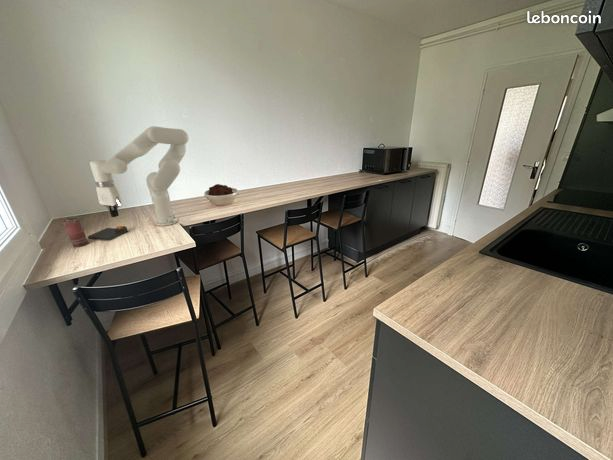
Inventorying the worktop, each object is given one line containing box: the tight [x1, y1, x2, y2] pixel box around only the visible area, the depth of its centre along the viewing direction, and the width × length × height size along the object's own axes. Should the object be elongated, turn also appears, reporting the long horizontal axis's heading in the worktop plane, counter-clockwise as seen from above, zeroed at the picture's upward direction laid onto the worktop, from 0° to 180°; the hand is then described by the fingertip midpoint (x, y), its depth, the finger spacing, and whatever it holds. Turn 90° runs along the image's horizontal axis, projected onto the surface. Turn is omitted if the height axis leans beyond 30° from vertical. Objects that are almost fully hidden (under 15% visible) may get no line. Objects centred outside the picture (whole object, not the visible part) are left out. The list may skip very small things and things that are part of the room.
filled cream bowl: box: [203, 183, 239, 206], centre depth 192 cm, size 25×25×15 cm
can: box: [62, 217, 89, 248], centre depth 129 cm, size 6×6×14 cm
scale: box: [86, 225, 128, 241], centre depth 142 cm, size 15×13×3 cm
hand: (115, 216), depth 141 cm, fingers closed
